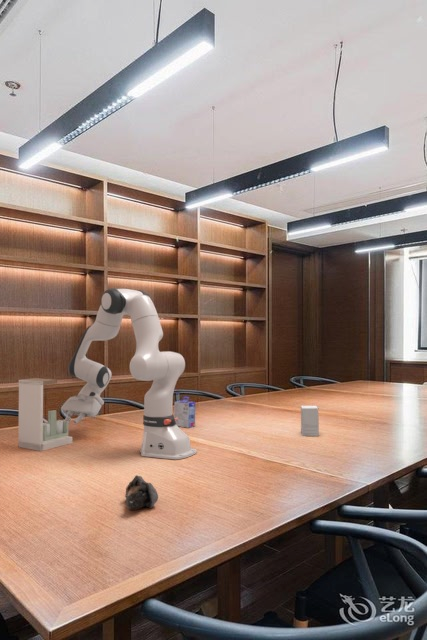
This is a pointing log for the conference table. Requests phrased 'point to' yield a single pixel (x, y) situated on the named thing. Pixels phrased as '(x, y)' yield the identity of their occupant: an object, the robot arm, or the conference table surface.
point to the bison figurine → (140, 494)
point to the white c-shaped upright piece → (34, 416)
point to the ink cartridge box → (184, 413)
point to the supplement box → (309, 421)
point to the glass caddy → (54, 427)
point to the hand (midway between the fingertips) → (70, 421)
